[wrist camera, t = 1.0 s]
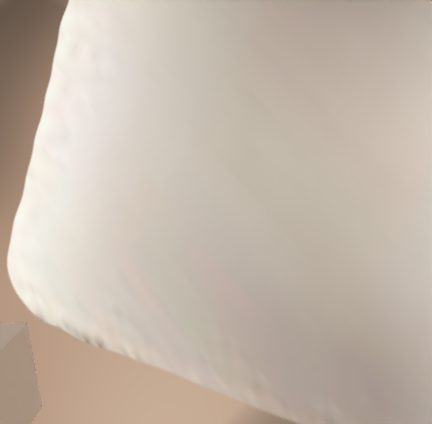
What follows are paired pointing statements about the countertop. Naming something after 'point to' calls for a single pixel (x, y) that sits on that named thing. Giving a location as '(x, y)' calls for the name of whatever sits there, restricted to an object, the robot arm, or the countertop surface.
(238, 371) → the countertop surface
